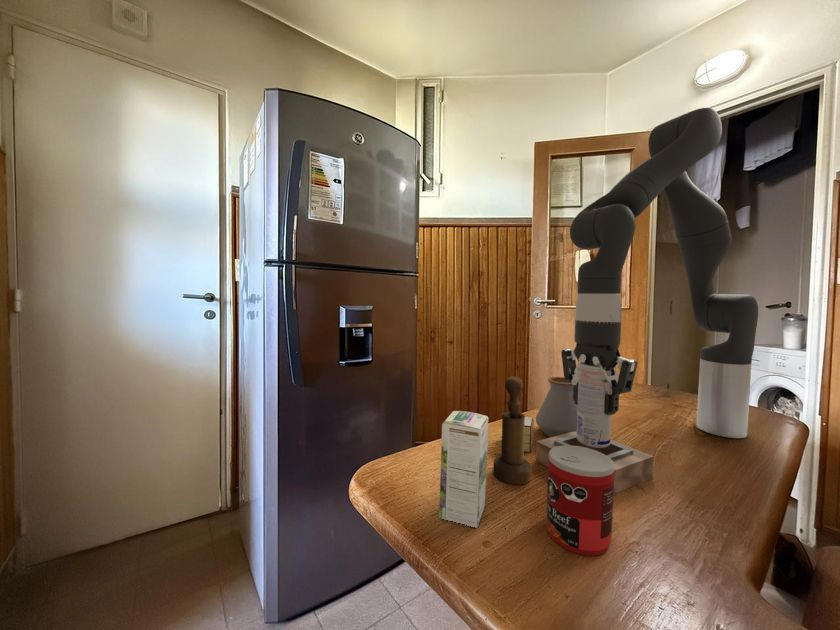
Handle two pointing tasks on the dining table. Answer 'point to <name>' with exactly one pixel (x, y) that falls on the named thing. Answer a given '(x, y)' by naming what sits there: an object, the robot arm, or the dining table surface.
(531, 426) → the puzzle toy
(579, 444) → the block
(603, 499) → the canned food
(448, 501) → the syrup box
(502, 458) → the mortar and pestle
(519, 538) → the dining table surface
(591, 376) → the beverage can
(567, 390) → the coffee pot
